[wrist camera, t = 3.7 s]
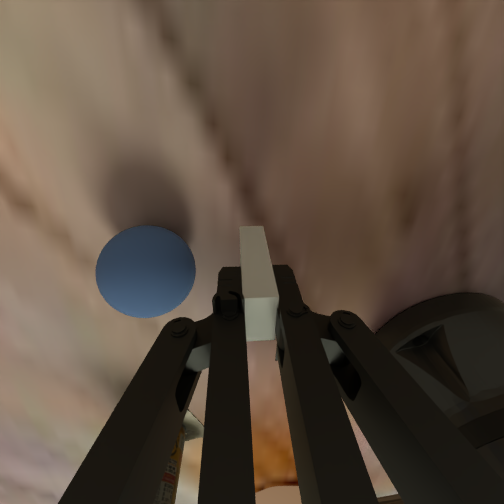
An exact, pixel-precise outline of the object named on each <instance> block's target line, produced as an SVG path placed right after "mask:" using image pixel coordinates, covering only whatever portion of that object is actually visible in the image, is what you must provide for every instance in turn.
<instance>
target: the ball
mask: <svg viewBox="0 0 504 504" xmlns="http://www.w3.org/2000/svg"><path fill="white" fill-rule="evenodd" d="M195 273H196V268H195V261H194V257H193V254H192V252H191V250H190V248H189V247H188V245H187V244H186V243H185V242H184V240H183V239H181V238H180V237H179V236H178V235H177V234H175V233H173V232H172V231H170V230H168V229H165V228H162V227H158V226H150V225H143V226H137V227H133V228H129V229H127V230H124V231H122V232H120V233H119V234H117V235H116V236H114V237H113V238H112V239H111V240H110V241H109V242H108V243H107V244H106V245H105V247H104V248H103V249H102V251H101V253H100V255H99V258H98V260H97V265H96V282H97V285H98V288H99V291H100V293H101V295H102V296H103V298H104V299H105V300H106V302H107V303H108V304H109V305H110V306H112V307H113V308H114V309H116V310H117V311H119V312H121V313H123V314H126V315H129V316H132V317H138V318H150V317H156V316H160V315H163V314H165V313H167V312H170V311H171V310H173V309H175V308H176V307H177V306H179V305H180V304H181V303H182V302H183V301H184V300H185V298H186V297H187V296H188V294H189V292H190V291H191V289H192V286H193V284H194V280H195Z"/></svg>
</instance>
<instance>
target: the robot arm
mask: <svg viewBox="0 0 504 504" xmlns="http://www.w3.org/2000/svg"><path fill="white" fill-rule="evenodd" d="M212 304H213V313H212V314H211V315H210V316H209V317H207V318H205V319H203V320H200V321H196V322H194V321H193V320H191V319H189V318H186V317H179V318H176V319H173V320H171V321H169V322H168V323H167V324H166V325H165V326H164V327H163V329H162V331H161V332H160V334H159V336H158V337H157V339H156V341H155V342H154V344H153V346H152V347H151V349H150V351H149V352H148V354H147V356H146V357H145V359H144V361H143V362H142V364H141V366H140V367H139V369H138V371H137V372H136V374H135V376H134V377H133V379H132V381H131V382H130V384H129V386H128V387H127V389H126V391H125V392H124V394H123V396H122V397H121V399H120V401H119V402H118V404H117V406H116V407H115V409H114V411H113V412H112V414H111V416H110V417H109V419H108V421H107V422H106V424H105V426H104V427H103V429H102V431H101V432H100V434H99V436H98V437H97V439H96V441H95V442H94V444H93V446H92V447H91V449H90V451H89V452H88V454H87V456H86V457H85V459H84V461H83V462H82V464H81V466H80V467H79V469H78V471H77V472H76V474H75V476H74V477H73V479H72V481H71V482H70V484H69V486H68V487H67V489H66V491H65V492H64V494H63V496H62V497H61V499H60V501H59V502H58V504H153V502H154V500H155V497H156V494H157V492H158V489H159V486H160V483H161V481H162V478H163V475H164V472H165V470H166V467H167V464H168V462H169V459H170V456H171V453H172V451H173V448H174V445H175V442H176V440H177V437H178V434H179V432H180V429H181V426H182V423H183V421H184V418H185V415H186V413H187V410H188V407H189V404H190V402H191V399H192V396H193V393H194V391H195V388H196V385H197V383H198V380H199V377H200V374H201V372H202V370H203V369H206V368H208V367H209V375H208V387H207V398H206V410H205V422H204V434H203V446H202V458H201V470H200V482H199V493H198V504H256V503H255V485H254V467H253V450H252V432H251V414H250V397H249V379H248V362H247V344H246V341H262V340H275V335H276V339H277V348H276V359H275V361H278V363H279V369H280V375H281V381H282V387H283V393H284V399H285V405H286V411H287V417H288V423H289V429H290V435H291V441H292V447H293V453H294V459H295V465H296V471H297V477H298V483H299V489H300V495H301V501H302V504H504V303H503V302H501V301H500V300H498V299H496V298H494V297H492V296H488V295H484V294H477V293H460V294H452V295H447V296H442V297H438V298H435V299H431V300H428V301H426V302H423V303H421V304H418V305H416V306H414V307H412V308H410V309H408V310H406V311H404V312H403V313H401V314H399V315H398V316H396V317H395V318H393V319H392V320H391V321H389V322H388V323H387V324H386V325H385V326H383V327H382V328H381V329H380V330H379V331H378V332H377V334H376V335H374V333H373V332H372V331H371V330H370V329H369V328H368V327H367V326H366V324H365V323H364V322H363V321H362V320H361V319H360V318H359V317H358V316H357V315H356V314H354V313H352V312H350V311H345V310H338V311H335V312H333V313H332V315H331V316H325V315H321V314H317V313H314V312H312V311H311V310H310V309H309V307H308V306H307V305H306V304H304V302H303V300H302V297H301V294H300V291H299V288H298V285H297V283H296V279H295V276H294V273H293V270H292V269H291V268H290V267H289V266H288V265H272V263H271V259H270V254H269V250H268V246H267V241H266V237H265V232H264V228H263V226H240V267H223V268H222V269H221V270H220V272H219V274H218V286H217V293H216V294H215V295H214V297H213V299H212ZM341 397H342V398H341ZM342 399H343V401H344V402H345V404H346V406H347V408H348V409H349V411H350V413H351V414H352V416H353V418H354V419H355V421H356V423H357V424H358V426H359V428H360V429H361V431H362V433H363V434H364V436H365V438H366V440H367V441H368V443H369V445H370V446H371V448H372V450H373V451H374V453H375V455H376V456H377V458H378V460H379V461H380V463H381V465H382V467H383V468H384V470H385V472H386V473H387V475H388V477H389V478H390V480H391V482H392V483H393V485H394V487H395V488H396V490H397V492H398V493H399V494H395V495H390V496H384V497H379V498H377V497H376V494H375V491H374V488H373V486H372V483H371V480H370V477H369V474H368V471H367V469H366V466H365V463H364V460H363V457H362V454H361V452H360V449H359V446H358V443H357V440H356V437H355V435H354V432H353V429H352V426H351V423H350V420H349V418H348V415H347V412H346V409H345V406H344V403H343V401H342Z"/></svg>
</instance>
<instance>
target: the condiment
mask: <svg viewBox="0 0 504 504" xmlns="http://www.w3.org/2000/svg"><path fill="white" fill-rule="evenodd" d="M203 434H204V427H203V425H202V424H201V423H200V422H199V421H198V420H197V418H195V417H194V416H193V415H192V413H191V412H189V411H188V410H187V413H186V415H185V418H184V421H183V423H182V426H181V429H180V432H179V434H178V437H177V440H176V442H175V445H174V448H173V451H172V453H171V456H170V459H169V462H168V464H167V467H166V470H165V472H164V475H163V478H162V481H161V483H160V486H159V489H158V492H157V494H156V497H155V500H154V502H153V504H175V499H176V492H177V486H178V480H179V473H180V468H181V461H182V454H183V448H184V442H185V441H189V440H191V439H195V438H200V437H203Z"/></svg>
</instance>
